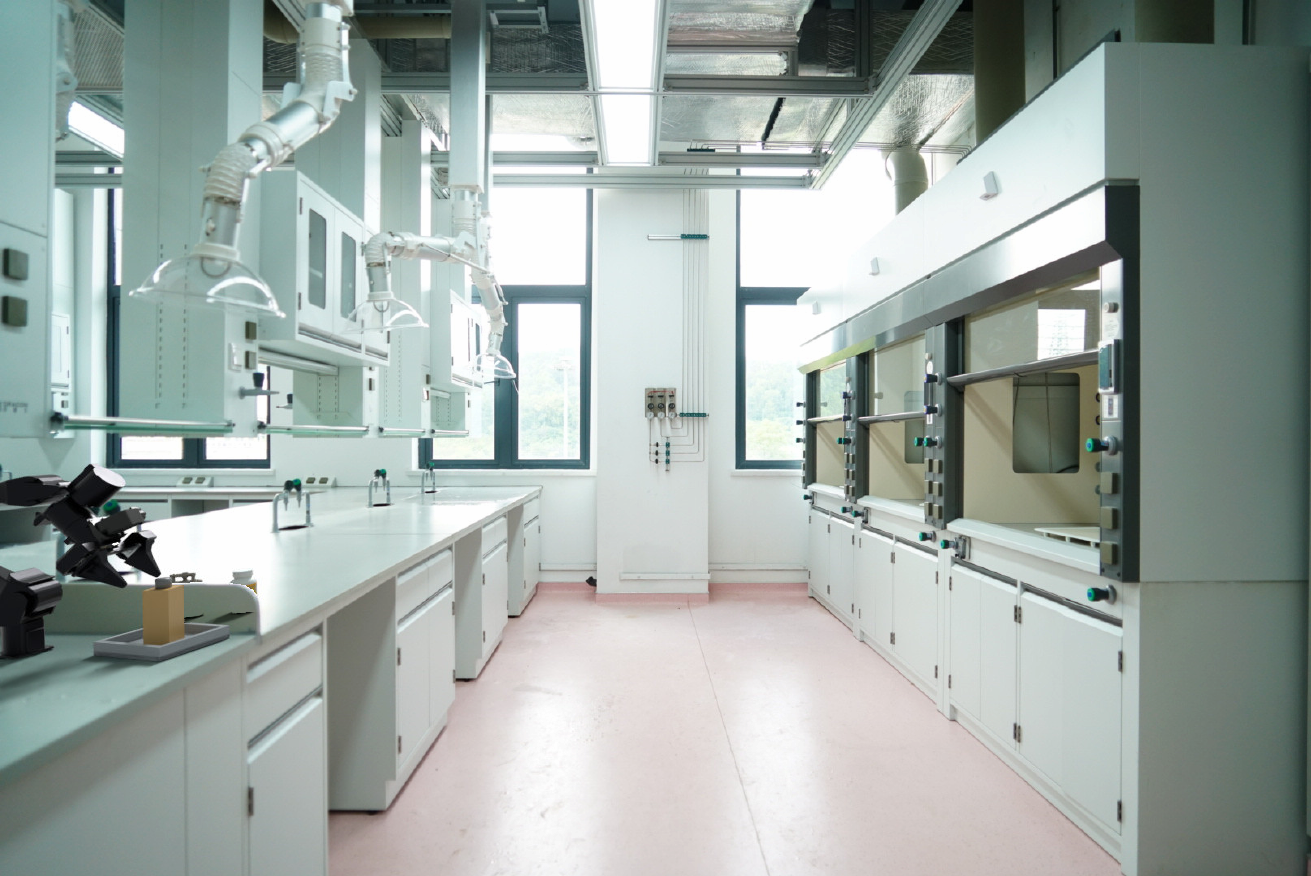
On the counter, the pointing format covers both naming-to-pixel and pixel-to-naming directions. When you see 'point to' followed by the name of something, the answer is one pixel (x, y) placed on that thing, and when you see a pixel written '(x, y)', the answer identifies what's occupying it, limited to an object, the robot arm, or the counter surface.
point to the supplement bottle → (245, 578)
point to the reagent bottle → (163, 612)
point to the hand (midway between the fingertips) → (142, 580)
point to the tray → (134, 648)
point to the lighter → (185, 578)
